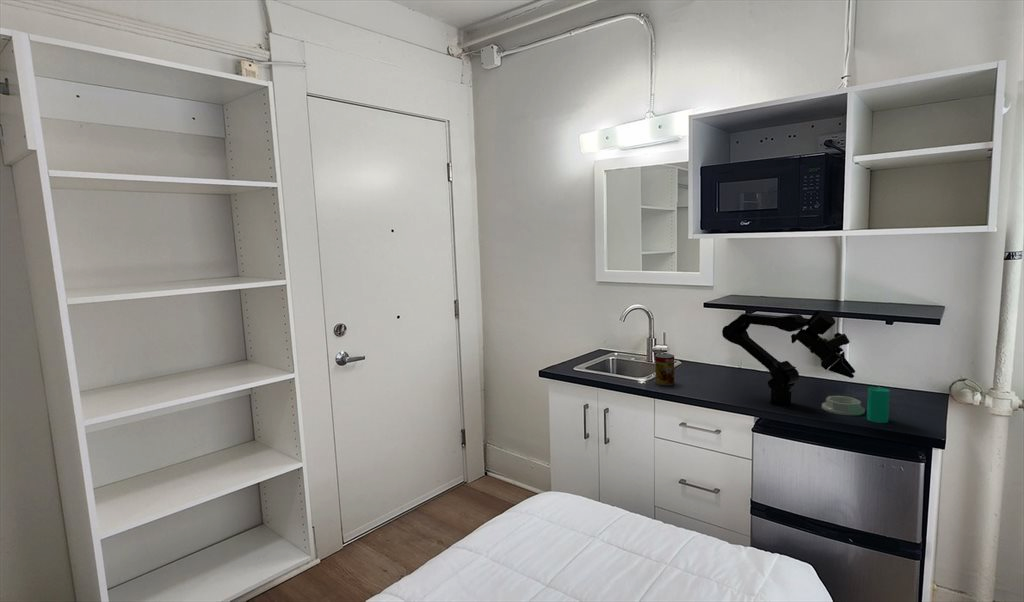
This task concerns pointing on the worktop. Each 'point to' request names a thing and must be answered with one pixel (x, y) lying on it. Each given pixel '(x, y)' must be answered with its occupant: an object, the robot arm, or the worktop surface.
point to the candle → (878, 404)
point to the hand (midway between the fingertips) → (853, 374)
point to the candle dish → (843, 406)
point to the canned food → (664, 369)
